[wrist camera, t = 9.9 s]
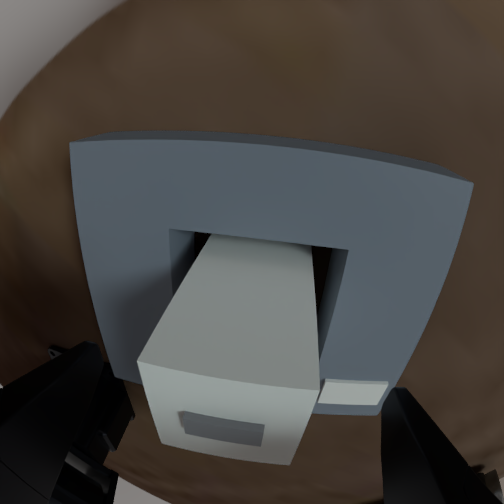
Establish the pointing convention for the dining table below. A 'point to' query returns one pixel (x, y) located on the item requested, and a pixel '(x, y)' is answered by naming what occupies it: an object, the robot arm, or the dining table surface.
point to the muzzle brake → (492, 483)
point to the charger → (237, 352)
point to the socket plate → (270, 228)
